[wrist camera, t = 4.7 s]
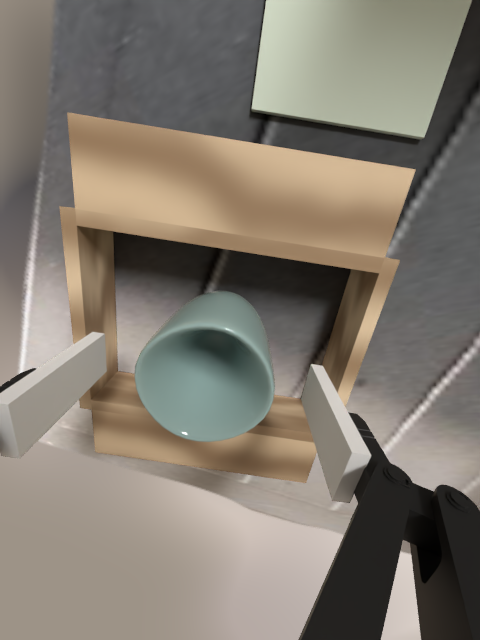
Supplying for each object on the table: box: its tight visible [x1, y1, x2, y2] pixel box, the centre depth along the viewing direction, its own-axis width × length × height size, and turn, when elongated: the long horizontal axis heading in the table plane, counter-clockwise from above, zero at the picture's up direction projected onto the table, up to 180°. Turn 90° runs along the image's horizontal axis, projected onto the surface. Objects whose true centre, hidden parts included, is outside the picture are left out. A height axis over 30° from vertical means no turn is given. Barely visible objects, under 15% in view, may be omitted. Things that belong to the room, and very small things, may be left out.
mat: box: [252, 0, 472, 139], centre depth 15 cm, size 12×12×1 cm
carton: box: [60, 113, 415, 483], centre depth 21 cm, size 26×22×4 cm
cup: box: [134, 291, 275, 442], centre depth 18 cm, size 8×8×10 cm
